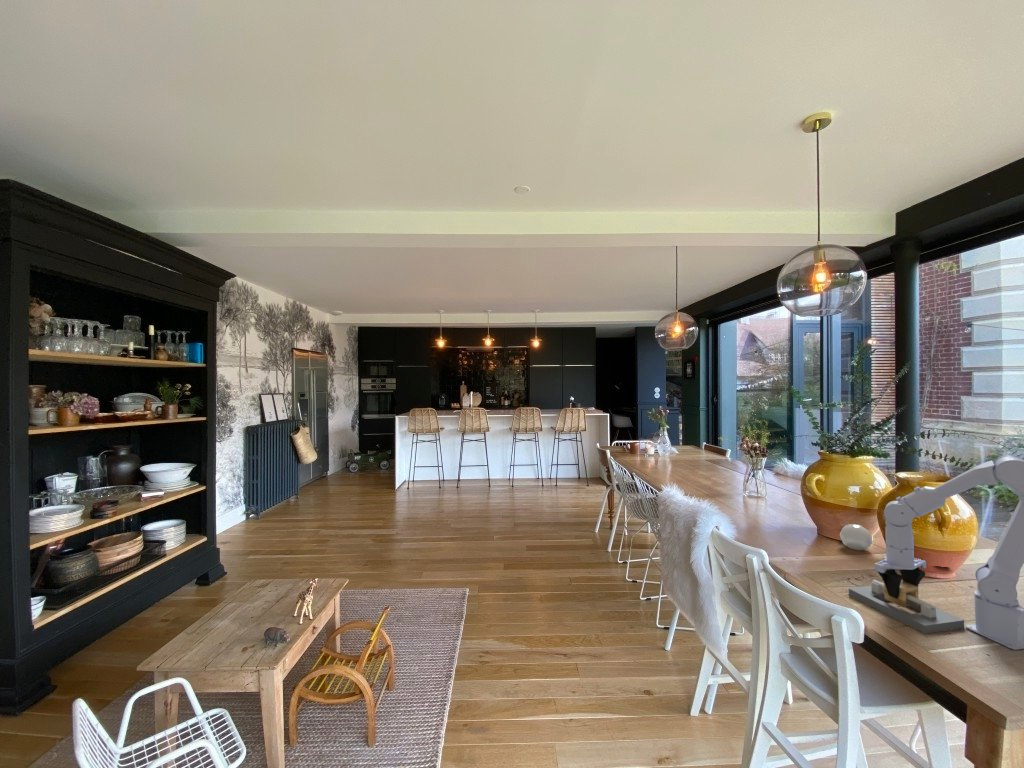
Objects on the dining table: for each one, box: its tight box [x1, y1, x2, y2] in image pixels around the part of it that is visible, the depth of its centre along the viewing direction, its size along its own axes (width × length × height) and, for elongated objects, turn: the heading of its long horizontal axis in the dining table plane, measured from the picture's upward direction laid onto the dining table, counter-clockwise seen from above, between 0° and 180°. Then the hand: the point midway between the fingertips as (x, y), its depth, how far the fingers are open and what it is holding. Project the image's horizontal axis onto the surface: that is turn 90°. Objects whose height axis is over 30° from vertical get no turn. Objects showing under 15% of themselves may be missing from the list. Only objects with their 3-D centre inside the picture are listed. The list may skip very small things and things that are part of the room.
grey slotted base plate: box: [848, 579, 965, 634], centre depth 116 cm, size 20×12×5 cm, turn 9°
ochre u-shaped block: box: [883, 580, 920, 608], centre depth 116 cm, size 5×5×5 cm
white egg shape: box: [838, 523, 873, 551], centre depth 161 cm, size 9×10×15 cm
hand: (901, 595), depth 116 cm, fingers closed on ochre u-shaped block, 5 cm apart
